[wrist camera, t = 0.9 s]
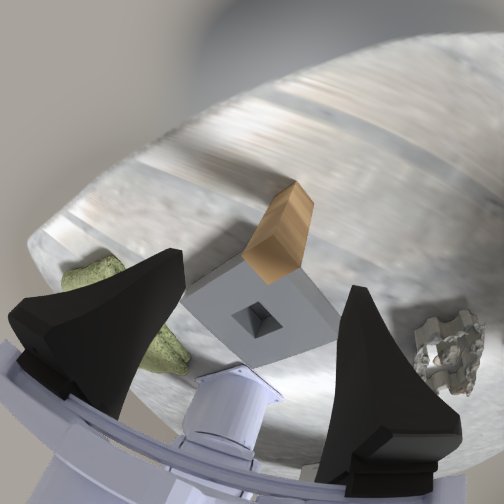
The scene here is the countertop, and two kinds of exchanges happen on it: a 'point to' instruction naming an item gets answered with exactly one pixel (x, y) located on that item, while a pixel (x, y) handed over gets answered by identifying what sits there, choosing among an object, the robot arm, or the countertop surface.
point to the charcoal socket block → (275, 302)
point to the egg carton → (450, 352)
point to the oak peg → (281, 235)
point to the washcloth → (165, 343)
